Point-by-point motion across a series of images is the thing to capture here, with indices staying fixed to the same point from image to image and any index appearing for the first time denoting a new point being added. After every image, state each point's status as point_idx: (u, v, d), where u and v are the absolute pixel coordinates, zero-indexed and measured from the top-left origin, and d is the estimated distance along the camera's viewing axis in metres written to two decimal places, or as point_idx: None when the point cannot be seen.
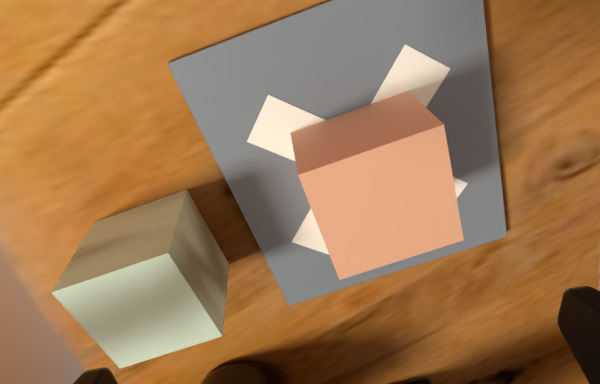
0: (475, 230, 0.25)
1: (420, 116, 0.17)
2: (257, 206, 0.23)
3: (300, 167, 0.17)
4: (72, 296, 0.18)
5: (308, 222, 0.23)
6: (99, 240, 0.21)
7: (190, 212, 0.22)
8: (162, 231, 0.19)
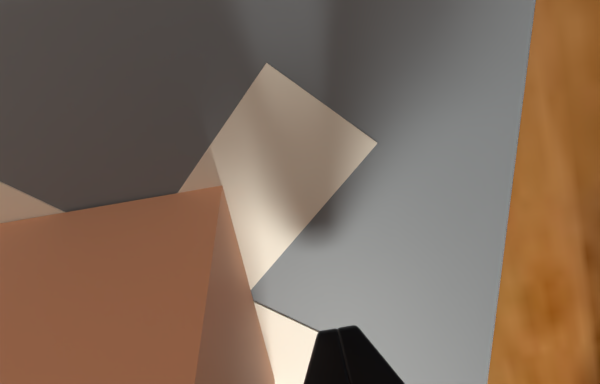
0: (463, 28, 0.07)
1: None
2: None
3: None
4: None
5: None
6: None
7: None
8: None
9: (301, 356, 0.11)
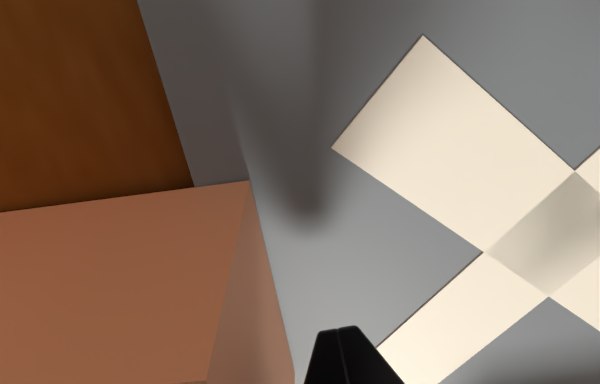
0: None
1: None
2: None
3: None
4: None
5: None
6: None
7: None
8: None
9: None
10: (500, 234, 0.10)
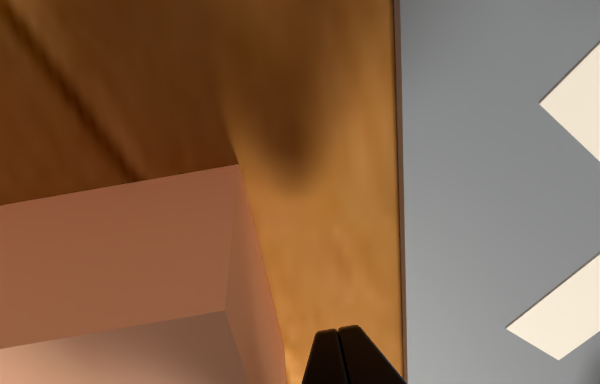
0: None
1: None
2: None
3: None
4: None
5: None
6: None
7: None
8: None
9: None
10: None
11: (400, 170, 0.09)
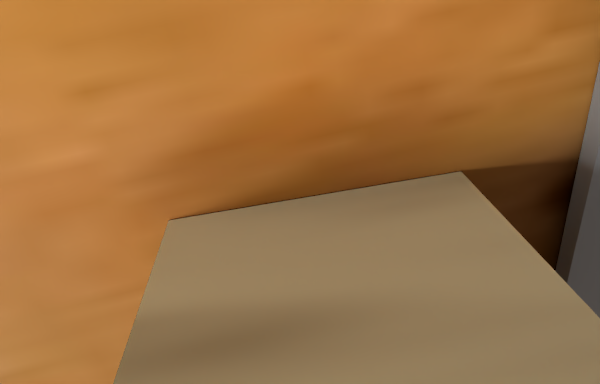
0: None
1: None
2: None
3: None
4: None
5: None
6: (223, 302, 0.06)
7: None
8: (539, 327, 0.05)
9: None
10: None
11: None
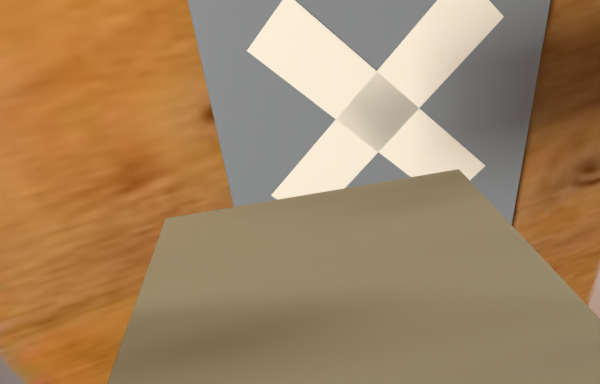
0: None
1: None
2: (239, 140, 0.18)
3: None
4: None
5: (296, 174, 0.19)
6: (218, 300, 0.06)
7: None
8: (536, 324, 0.05)
9: (329, 178, 0.20)
10: (387, 78, 0.17)
11: None
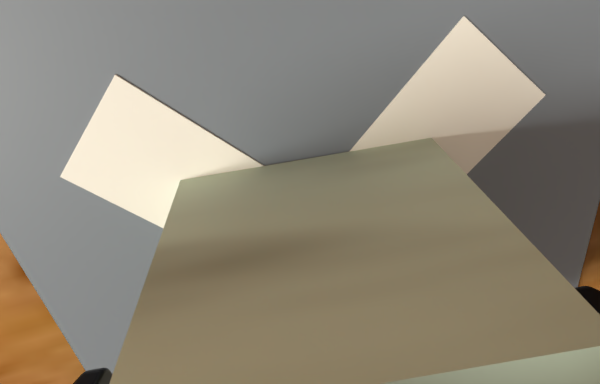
0: None
1: None
2: (86, 309, 0.11)
3: None
4: None
5: None
6: (227, 235, 0.07)
7: None
8: (477, 243, 0.06)
9: None
10: None
11: None
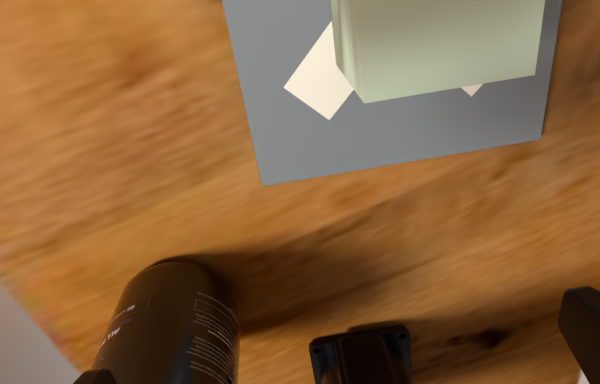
0: (507, 122, 0.20)
1: None
2: (248, 19, 0.17)
3: None
4: None
5: (310, 61, 0.18)
6: None
7: None
8: None
9: None
10: None
11: None
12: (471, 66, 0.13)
